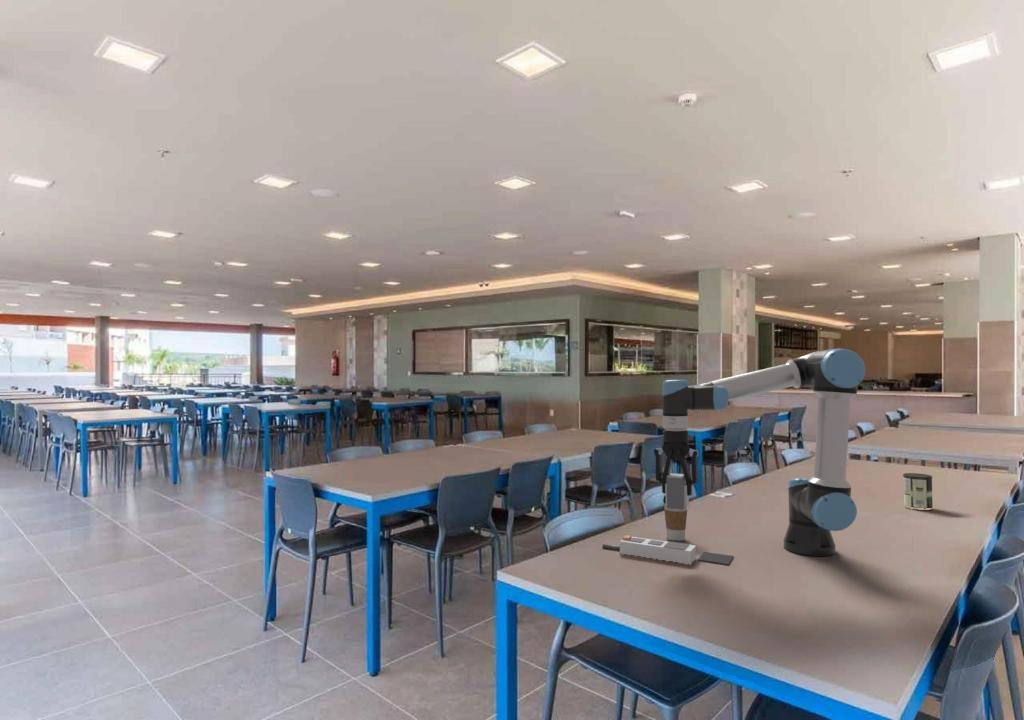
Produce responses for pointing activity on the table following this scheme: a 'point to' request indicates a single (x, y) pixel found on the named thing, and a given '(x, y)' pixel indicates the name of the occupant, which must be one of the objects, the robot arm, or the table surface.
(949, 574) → the table surface
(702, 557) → the mat
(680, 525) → the coffee cup
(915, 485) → the coffee can
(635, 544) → the power strip
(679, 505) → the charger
